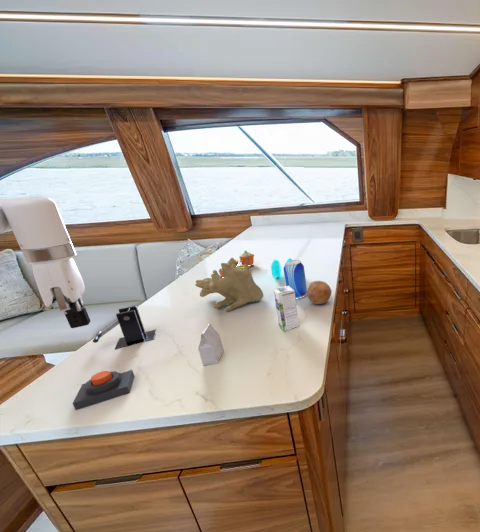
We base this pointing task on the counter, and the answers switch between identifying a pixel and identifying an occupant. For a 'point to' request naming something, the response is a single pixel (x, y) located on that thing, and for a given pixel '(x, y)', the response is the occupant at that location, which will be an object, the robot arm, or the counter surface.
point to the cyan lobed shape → (277, 267)
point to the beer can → (295, 277)
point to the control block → (104, 390)
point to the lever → (106, 330)
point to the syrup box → (286, 307)
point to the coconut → (319, 292)
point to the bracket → (132, 328)
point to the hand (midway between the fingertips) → (81, 325)
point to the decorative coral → (231, 286)
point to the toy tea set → (244, 259)
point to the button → (101, 377)
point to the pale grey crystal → (210, 346)
